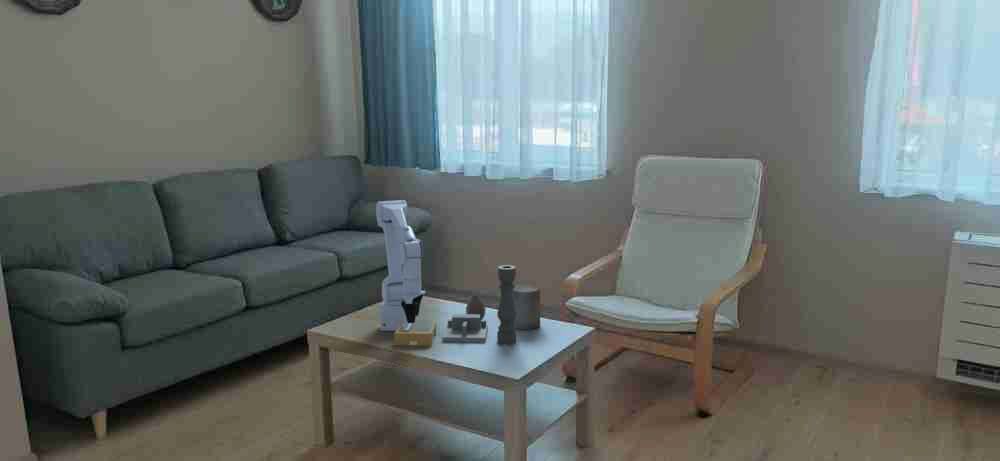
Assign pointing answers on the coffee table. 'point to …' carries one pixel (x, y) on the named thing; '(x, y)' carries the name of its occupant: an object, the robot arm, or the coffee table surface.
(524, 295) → the pillar candle
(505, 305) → the candle holder
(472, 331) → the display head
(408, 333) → the tan bracket frame
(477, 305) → the vase
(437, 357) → the coffee table surface
